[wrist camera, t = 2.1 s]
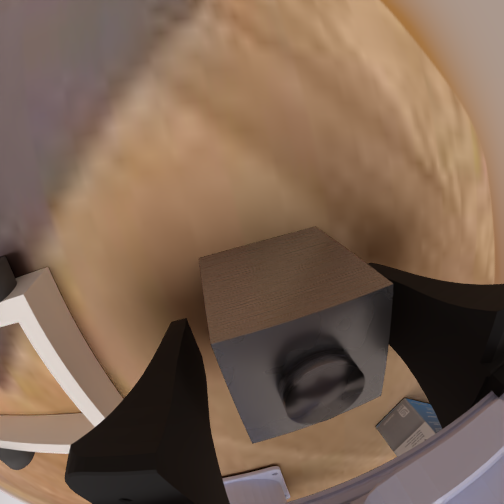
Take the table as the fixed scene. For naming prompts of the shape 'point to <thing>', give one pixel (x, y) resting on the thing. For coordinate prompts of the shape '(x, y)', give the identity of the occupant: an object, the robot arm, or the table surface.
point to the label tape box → (408, 425)
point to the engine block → (296, 329)
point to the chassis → (51, 369)
